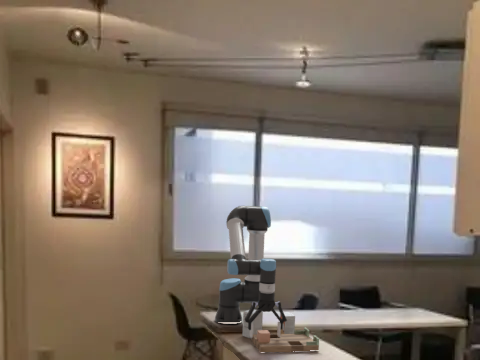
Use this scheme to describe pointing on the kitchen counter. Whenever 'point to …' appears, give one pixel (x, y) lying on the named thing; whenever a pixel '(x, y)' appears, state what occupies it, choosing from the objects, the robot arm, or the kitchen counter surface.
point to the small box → (288, 324)
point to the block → (263, 335)
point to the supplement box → (256, 324)
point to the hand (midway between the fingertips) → (264, 336)
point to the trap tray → (288, 342)
